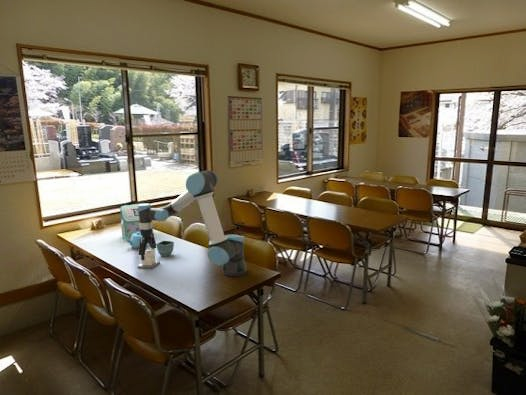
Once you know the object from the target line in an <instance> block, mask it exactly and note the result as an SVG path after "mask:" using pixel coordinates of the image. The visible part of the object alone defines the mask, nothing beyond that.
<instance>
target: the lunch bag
mask: <svg viewBox="0 0 526 395" xmlns="http://www.w3.org/2000/svg"><path fill="white" fill-rule="evenodd" d="M140 204H141V203H135V204H130V205H129V204H125V205H121V206H120V210H119V211H120V212H119V216H120V227H121V236H122V238H123V239H124V240H125V239H126V238H128V239H129V240H130V238H131V236H132V234H133V233H137V232H140V229H141V228H140V224H139V223H140V222H139V212H138V206H139V205H140ZM144 204H149V203H144ZM152 230H153V231H154V229H153V226H152Z"/></svg>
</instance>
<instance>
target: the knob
mask: <svg viewBox="0 0 526 395" xmlns="http://www.w3.org/2000/svg"><path fill="white" fill-rule="evenodd" d="M145 255H146V265H152V264H154V263H155V261H156V254H155V255H153V251H152V250H150V249H146V251H145ZM149 257H150V258H149Z"/></svg>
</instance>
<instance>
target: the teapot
mask: <svg viewBox="0 0 526 395" xmlns="http://www.w3.org/2000/svg"><path fill="white" fill-rule="evenodd" d="M140 239H142V235H141V234H140V232H137V233H133V234H132V236H131V238H130V240H129V239H128V238H126V239H124V241H126V242H128V243H129V245H130V246H131V247H132V248H135V250H139V245H140V241H139V240H140Z"/></svg>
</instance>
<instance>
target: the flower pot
mask: <svg viewBox="0 0 526 395" xmlns="http://www.w3.org/2000/svg"><path fill="white" fill-rule="evenodd" d="M174 245H175V241H172V240H171V241H170V240H161V241H160V242H157V243H156V249H157V252H158V254H159V255H160V256H161V257H169V256H170V255H172V253H173V251H174V248H175V246H174Z"/></svg>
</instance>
